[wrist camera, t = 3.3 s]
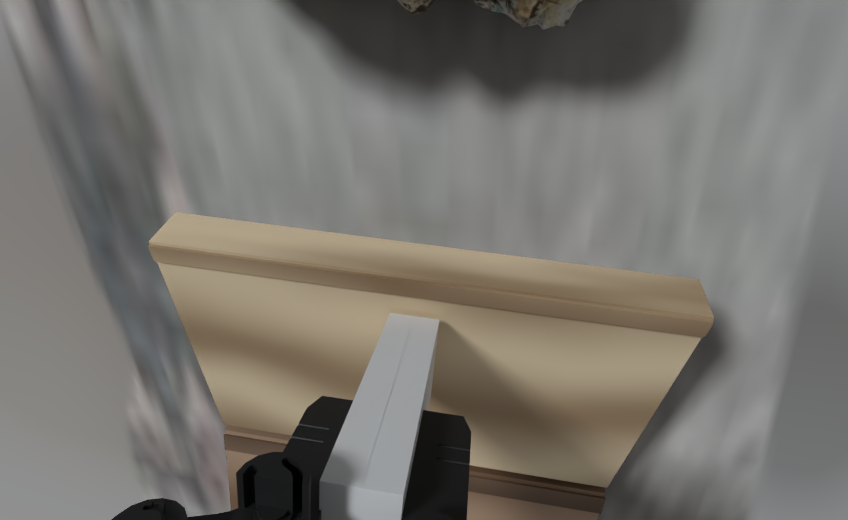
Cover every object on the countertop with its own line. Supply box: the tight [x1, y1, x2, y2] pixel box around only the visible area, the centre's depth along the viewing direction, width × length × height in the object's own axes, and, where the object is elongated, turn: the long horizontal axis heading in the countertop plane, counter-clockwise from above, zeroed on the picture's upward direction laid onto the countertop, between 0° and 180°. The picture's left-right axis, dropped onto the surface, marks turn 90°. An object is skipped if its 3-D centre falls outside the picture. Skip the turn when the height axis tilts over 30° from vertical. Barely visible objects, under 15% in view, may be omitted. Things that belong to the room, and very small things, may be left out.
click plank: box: [148, 212, 714, 488], centre depth 18 cm, size 10×16×2 cm, turn 85°
